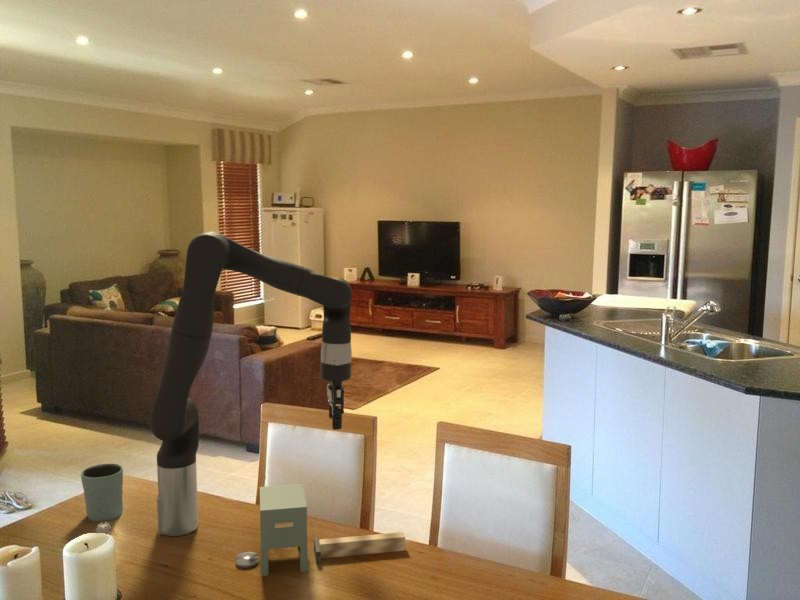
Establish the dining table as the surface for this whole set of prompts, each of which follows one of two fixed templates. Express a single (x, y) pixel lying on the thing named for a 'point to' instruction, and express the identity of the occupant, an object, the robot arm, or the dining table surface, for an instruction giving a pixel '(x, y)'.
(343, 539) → the beige bar
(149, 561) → the dining table surface
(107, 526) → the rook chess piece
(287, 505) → the cabinet
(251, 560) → the steel token
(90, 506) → the grey green cup
